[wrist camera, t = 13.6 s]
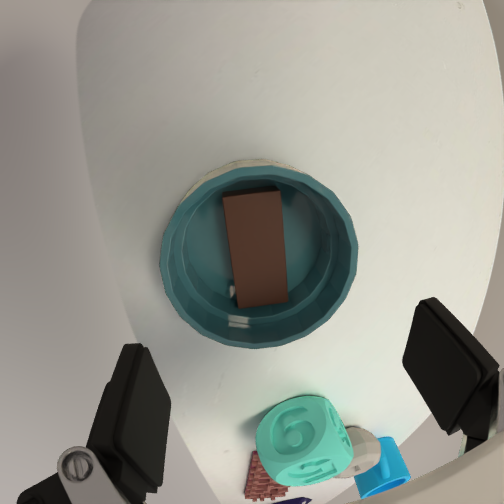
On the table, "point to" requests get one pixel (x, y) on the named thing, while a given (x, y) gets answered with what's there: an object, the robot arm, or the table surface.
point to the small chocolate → (256, 245)
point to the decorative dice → (303, 442)
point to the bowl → (296, 249)
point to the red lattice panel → (262, 482)
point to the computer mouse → (295, 501)
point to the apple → (361, 452)
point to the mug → (383, 471)
